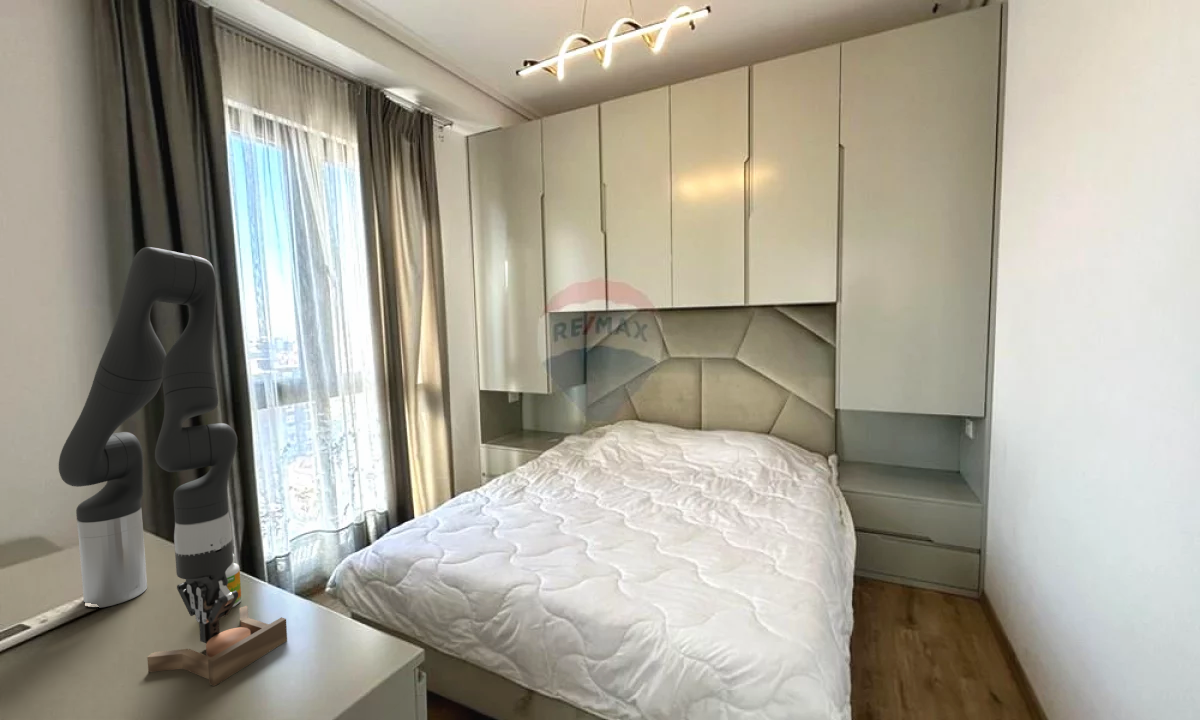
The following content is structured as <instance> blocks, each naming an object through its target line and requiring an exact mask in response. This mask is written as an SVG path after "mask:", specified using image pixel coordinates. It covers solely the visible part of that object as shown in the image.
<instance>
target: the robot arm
mask: <svg viewBox="0 0 1200 720" xmlns="http://www.w3.org/2000/svg"><path fill="white" fill-rule="evenodd" d="M155 302H159V303H167V304H177V305H183V306H187V307H188V311H189V312H188V313H189V317H188V322H187V325H186V327H185V328H184V330H183V331H182V333H181V334H180V336H179V338H177V340H176V341H175V342H174V344H173V345H172V346H171V347H170V349H169V351H168V352H167V353H166V350H165V348H164V346H163V344H162V342H161V341H160V339H159V337H158V335H157V334H156V332H155V329H154V327H153V324H152V322H151V310H152V308H153V305H154V303H155ZM216 304H217V277H216V273H215V268H214V266H213V265H212V263H211V261H210V260H207V259H206V258H203V257H200V256H196V255H193V254H187V253H182V252H179V251H178V252H177V251H172V250H169V249H168V250H167V249H163V248H158V247H151V246H147V247H146V246H145V247H143V248H141V249H140V250H138V252H137V253H136V254H135V255H134V257H133V259H132V261H131V264H130V266H129V269H128V274H127V277H126V282H125V285H124V289H123V293H122V296H121V302H120V305H119V309H118V312H117V317H116V320H115V323H114V326H113V328H112V332H111V334H110V336H109V339H108V341H107V343H106V344H107V345H106V346H105V349H104V352H103V353H102V355H101V358H100V361H99V363H98V366H97V367H96V372H95V374H94V378H93V381H92V384H91V387H90V391H89V393H88V396H87V398H86V401H85V403H84V406H83V407H82V410H81V412H80V415H79V417H78V418H77V420H76V421H75V424H74V425H73V428H72V429H71V432H70V433H69V435H68V437H67V438H66V440H65V443H64V445H63V446H62V449H61V452H60V455H59V459H58V472H59V475H60V479H61V480H62V481H63V482H64V483H65V484H66V485H69V486H71V487H77V488H78V487H88V486H93V485H98V484H100V483H105V482H106V484H105V485H104V486H103V487H102V488H101V489H100V490H99V491H98V492H96V493H95V494H93V495H92V496H90V497H88V498H86V499H85V500H84V501H82V502H80V503H79V504H78V506H77V507H76V511H75V513H76V524H77V534H78V536H77V537H78V547H79V559H80V573H81V583H82V585H81V587H82V596H83V603H84V602H85V603H91V604H97V605H98V606H99V608H101V609H102V608H106V607H110V606H115V605H117V604H122V603H124V602H127V601H129V600H132V599H134V598H136V597H138V596H141V594H143V593H144V592H145V591H146V590H147V588H148V580H147V564H146V562H147V561H146V550H145V539H144V538H145V537H144V524H143V512H142V500H143V499H142V498H143V495H144V456H143V455H144V453H143V448H142V445H141V442H140V440H139V438H138V437H137V436H136V435H134V434H133V433H132V432H128V431H121V432H115V431H117V429H118V428H119V427H120V426H121V425H122V424H124V423H125V422H127V420H129V419H130V418H131V417H132V416H134V415H136V413H138V412H139V411H140V410H141V409H143V408H144V407H145V406H146V405H147V404H148V403H149V402H150V401H152V400H153V399H154V397H155V396H156V395H157V393H158V391H159V390H160V388H161V386H162V389H163V400H164V412H163V413H164V414H163V419H162V425H161V427H160V428H161V429H160V432H159V435H158V438H157V441H156V445H155V450H154V459H155V462H156V463H157V465H158V466H159V468H160V469H162V470H164V471H166V472H169V473H178V472H183V471H189V470H196V469H201V468H207V467H210V469H209V470H208V471H207V473H205V474H204V475H203V476H201V477H199V478H196V479H194V480H191V481H188V482H186V483H183V484H181V485H179V486H178V487H176V489H175V490H174V491H173V499H172V500H173V510H174V511H173V512H174V532H173V541H174V555H175V556H174V557H175V570H176V572H175V573H176V576H177V578H179V579H182V580H184V581H183V582H182V583H179V584H177V585H176V589H177V591H178V593H179V596H180V597H181V599H182V601H183V604H184V606H185V607H186V609H187V612H188V614H189V616H191V617H194V616H195V620H196V621H197V622H198V623H199V637H200V639H199V640H200V642H202V643H203V644H206V643H207V642H208V641H209V640H210V639H211V638H212V637H213V636H215V635H217V634H219V633H221V631H220V629H221V628H220V619H222V618H224V617H226V616H229V613H230V612H231V610H232V608H234V607H233V605H234V603H235V601H236V600H237V598H238V592H237V591H233V592H230V591H229V589H228V588H227V585H228V579H227V577H226V573H225V572H226V570H227V568H228V567H229V566H230V565H231V564H232V562H233V554H234V552H233V551H234V550H233V534H232V523H231V519H230V518H231V517H230V513H229V512H230V511H229V500H228V498H229V497H228V486H229V483H228V482H229V477H230V472H231V470H232V469H231V468H232V465H233V462H234V459H235V456H236V452H237V448H238V436H237V432H236V431H235V429H234V428H232V427H231V426H230V425H229V424H227V423H219V422H218V423H210V424H203V425H193V426H187V427H186V426H182V425H183V423H184V422H186V421H187V420H188V419H190V418H194V417H197V416H200V415H204V414H207V413H210V412H212V411H214V410H215V409H216V408H217V407H218V406H219V405H218V404H219V394H218V393H219V392H218V387H217V379H216V378H217V377H216V373H215V362H214V339H215V327H216V326H215V325H216Z"/></svg>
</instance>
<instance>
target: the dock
mask: <svg viewBox="0 0 1200 720" xmlns="http://www.w3.org/2000/svg"><path fill="white" fill-rule="evenodd" d="M248 608H249V607H248V605H245V606H241V607H239V620H240V621H239V622H240V627H244V628H248V629H249V630H250V633H251V635H250V636H248V637H246V638H244V639H243V640H241V641H239V642H237V643H236V644H234V645H232V646H230V647H229V648H227V649H225V650H223V651H222V652H220V653H218V654H216V655H215V656H213V657H209V656H207V654H204V653H201V652H198V651H196V650H193V649H191V648H183V649H182V648H181V649H174V650H173V649H172V650H163V651H153V652H152V653H150V654H149V655H148V656H147V657H146V658H147V670H148V673H153V672H154V673H155V672H161V671H173V670H185V671H187V672H190V673H192V674H195V675H198V676H199V677H202V678H204V679H207V680H208V683H209V685H211V686H213V687H215V686H217V685H219V684H220V683H223V682H224V681H225V680H227V679H229V678H230V677H231V676H233V675H235V674H236V673H238V672H240V671H241V670H242V669H243V670H244V668H246V667H248V666H249V665H251V664H252V663H254V662H255V661H257V660H260V658H262V657H264V656H265V655H268V654H269V653H270V652H272V651H273V650H275V649H276V648H278V647H279V646H282V645H283V644H285V643H286V642H288V632H287V631H288V629H287V618H285V617H279V618H278V619H276V620H274V621H273V622H271V623H269V624H268V623H266V622H262V621H260V620H256V619H254V618H250V617H249V609H248Z"/></svg>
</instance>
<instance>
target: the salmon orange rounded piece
mask: <svg viewBox="0 0 1200 720" xmlns="http://www.w3.org/2000/svg"><path fill="white" fill-rule="evenodd" d="M250 635H251V633H250V630H249V629H248V628H244V627H241V626H240V627H234V628H229V629H226V630H223V631H220V633H219V634H217V635H215V636H213V637H212V638H211V639H210V640H209V641H208V642H207V643H205V650H206V654H205V655H207V656H209V657H213V656H215V655H216V654H218V653H220V652H222V651H223V650H225V649H227V648H229V647H230V646H232V645H234V644H236V643H237V642H239V641H241V640H243V639H244V638H246V637H248V636H250Z"/></svg>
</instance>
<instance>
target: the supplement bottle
mask: <svg viewBox="0 0 1200 720" xmlns="http://www.w3.org/2000/svg"><path fill="white" fill-rule="evenodd" d="M235 558H236V557H235V554H234V553H233V562H232V564H231V565H230V566H229V567H228V568H227V570H226V572H225V573H226V577H227V579H228V585H227V588H228V589H229V591H230V592H233V591H237V592H238V598H237V600H236V601H235V603H234V605H233V607H232V608H234V607H236V606H237V605H238V604H239V603H241V601H242V591H241V590H242V587H241V571H240V570H241V569H240V565H239V563H235V561H236V560H235Z"/></svg>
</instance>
